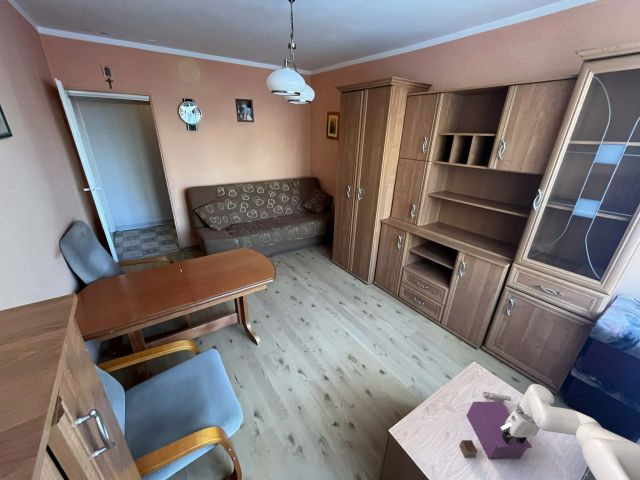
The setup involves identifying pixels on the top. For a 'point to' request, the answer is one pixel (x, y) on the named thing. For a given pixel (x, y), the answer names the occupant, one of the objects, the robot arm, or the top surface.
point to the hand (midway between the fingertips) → (512, 439)
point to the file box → (490, 439)
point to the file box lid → (498, 423)
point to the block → (468, 448)
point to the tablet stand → (497, 397)
